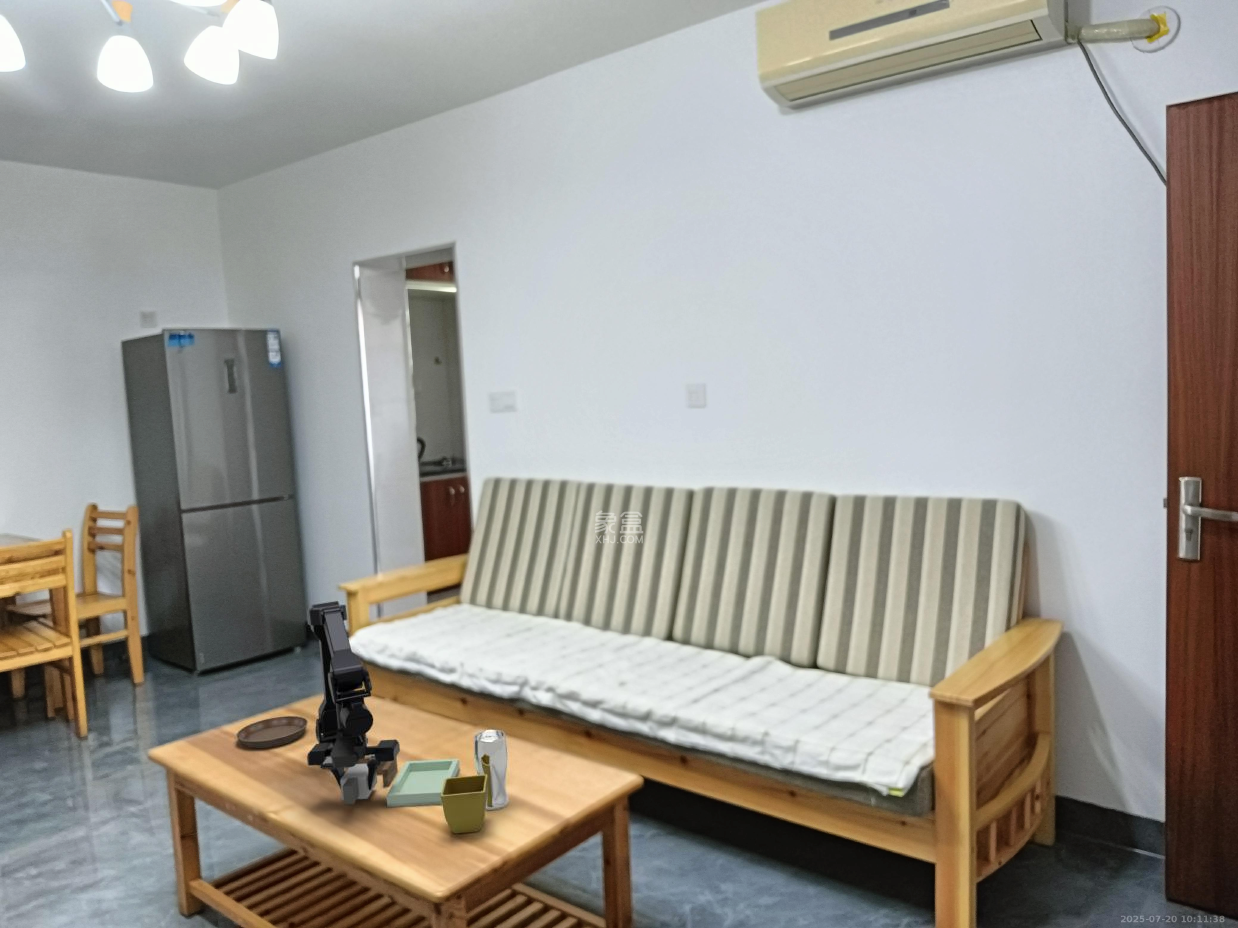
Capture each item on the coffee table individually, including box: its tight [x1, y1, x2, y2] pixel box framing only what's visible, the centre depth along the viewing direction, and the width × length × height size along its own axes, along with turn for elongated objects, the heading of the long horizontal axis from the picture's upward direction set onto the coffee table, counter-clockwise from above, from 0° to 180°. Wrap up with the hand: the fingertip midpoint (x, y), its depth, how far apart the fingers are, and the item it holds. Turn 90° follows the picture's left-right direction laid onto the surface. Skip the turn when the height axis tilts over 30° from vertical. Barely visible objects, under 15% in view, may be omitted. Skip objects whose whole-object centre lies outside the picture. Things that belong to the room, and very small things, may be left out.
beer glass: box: [473, 729, 509, 811], centre depth 194 cm, size 7×7×15 cm
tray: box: [386, 758, 461, 808], centre depth 204 cm, size 12×18×3 cm
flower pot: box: [441, 774, 488, 834], centre depth 184 cm, size 9×9×9 cm
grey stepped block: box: [340, 764, 378, 805], centre depth 199 cm, size 6×12×5 cm, turn 0°
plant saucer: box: [236, 715, 309, 749], centre depth 241 cm, size 18×18×3 cm
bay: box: [344, 755, 399, 788], centre depth 210 cm, size 10×8×4 cm
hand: (357, 789), depth 199 cm, fingers closed on grey stepped block, 5 cm apart
